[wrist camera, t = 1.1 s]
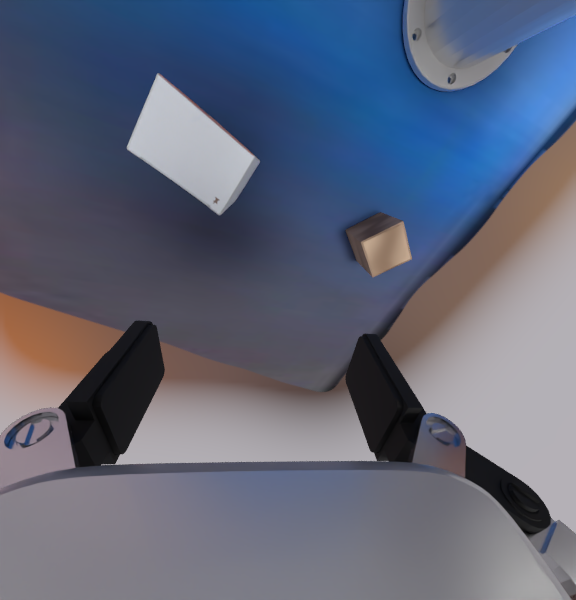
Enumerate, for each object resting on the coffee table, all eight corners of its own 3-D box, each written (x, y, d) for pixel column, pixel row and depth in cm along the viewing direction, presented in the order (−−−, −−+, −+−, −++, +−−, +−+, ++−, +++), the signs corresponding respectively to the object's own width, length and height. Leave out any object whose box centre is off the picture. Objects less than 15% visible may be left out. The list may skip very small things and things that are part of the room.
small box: (261, 161, 27) (258, 157, 18) (235, 202, 29) (220, 218, 20) (197, 105, 24) (156, 67, 15) (173, 155, 26) (123, 148, 17)
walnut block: (380, 212, 31) (403, 221, 26) (389, 244, 33) (412, 259, 28) (345, 229, 32) (360, 242, 27) (356, 260, 34) (372, 277, 29)
